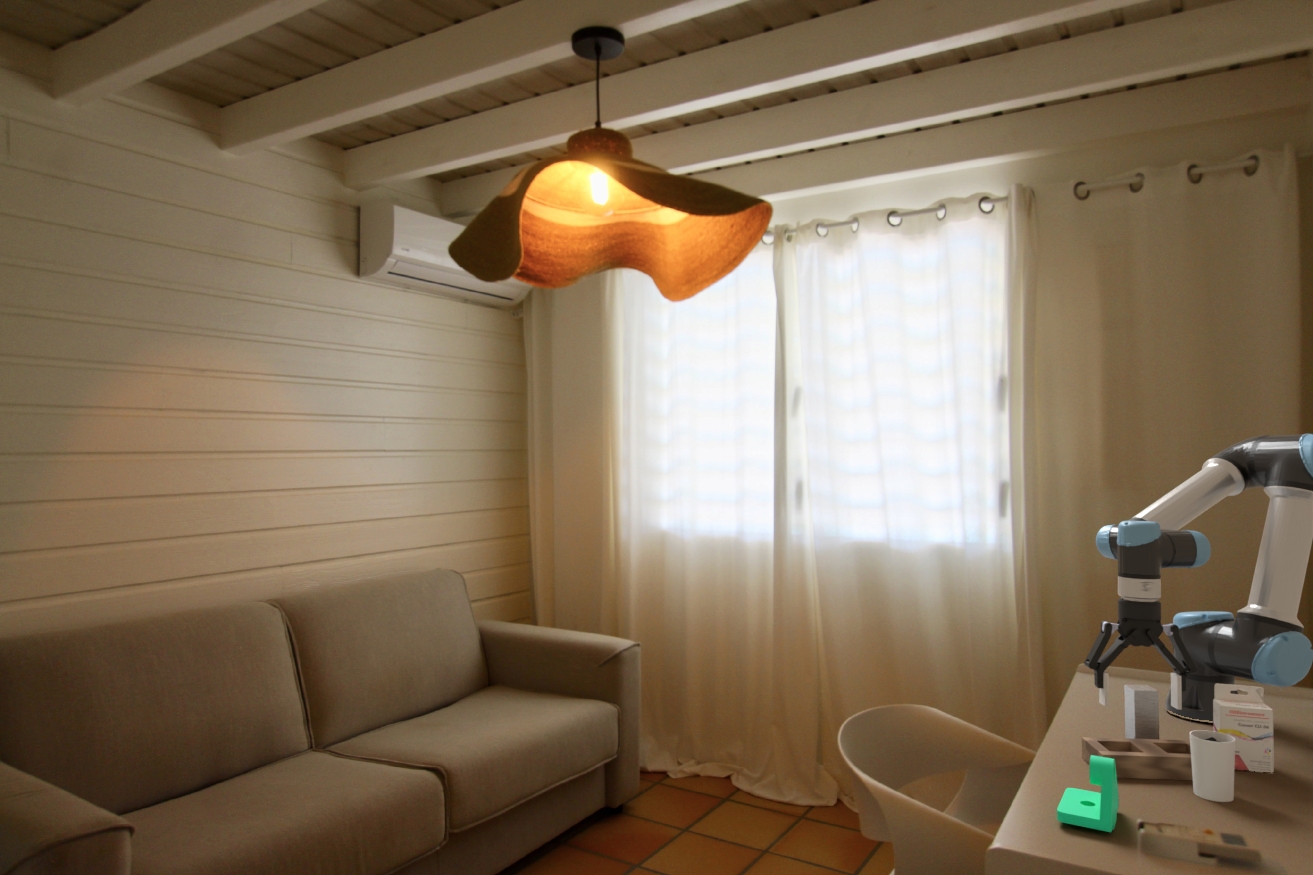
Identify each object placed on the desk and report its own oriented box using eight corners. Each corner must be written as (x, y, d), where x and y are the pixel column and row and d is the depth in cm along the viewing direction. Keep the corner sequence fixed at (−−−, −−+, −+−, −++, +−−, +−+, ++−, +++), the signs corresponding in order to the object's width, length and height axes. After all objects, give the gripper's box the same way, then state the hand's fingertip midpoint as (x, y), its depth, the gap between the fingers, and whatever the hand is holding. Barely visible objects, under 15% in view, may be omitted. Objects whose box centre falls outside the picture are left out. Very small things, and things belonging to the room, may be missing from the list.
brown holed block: (1192, 761, 163) (1192, 740, 163) (1221, 781, 153) (1220, 758, 153) (1081, 758, 165) (1081, 737, 165) (1103, 776, 155) (1102, 754, 155)
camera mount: (1067, 802, 144) (1066, 740, 144) (1118, 812, 140) (1117, 748, 140) (1056, 828, 134) (1055, 761, 134) (1111, 839, 130) (1110, 770, 130)
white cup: (1182, 787, 150) (1180, 729, 150) (1221, 787, 149) (1219, 730, 150) (1205, 802, 143) (1204, 742, 143) (1246, 803, 143) (1244, 742, 143)
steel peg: (1149, 745, 172) (1147, 685, 173) (1159, 752, 168) (1158, 690, 168) (1125, 744, 173) (1124, 684, 173) (1135, 751, 168) (1134, 690, 169)
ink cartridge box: (1220, 769, 159) (1218, 688, 159) (1213, 760, 163) (1211, 682, 164) (1275, 774, 156) (1273, 692, 156) (1266, 765, 161) (1264, 685, 161)
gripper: (1080, 599, 169) (1081, 708, 168) (1215, 603, 166) (1217, 714, 165) (1066, 594, 176) (1067, 698, 175) (1195, 597, 173) (1196, 703, 173)
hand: (1139, 706), depth 170 cm, fingers open, 13 cm apart
